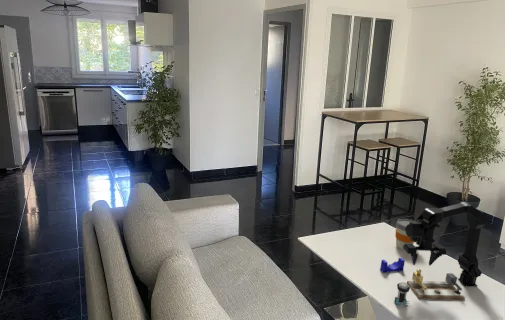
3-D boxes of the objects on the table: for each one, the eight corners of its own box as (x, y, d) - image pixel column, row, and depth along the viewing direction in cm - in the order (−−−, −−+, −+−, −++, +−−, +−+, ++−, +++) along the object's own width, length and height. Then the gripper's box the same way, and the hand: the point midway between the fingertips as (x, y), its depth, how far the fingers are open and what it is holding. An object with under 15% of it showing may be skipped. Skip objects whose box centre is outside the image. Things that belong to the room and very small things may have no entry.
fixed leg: (450, 282, 191) (452, 273, 189) (462, 294, 181) (464, 285, 179) (444, 282, 190) (446, 273, 189) (456, 294, 180) (458, 285, 179)
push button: (407, 301, 177) (410, 281, 174) (411, 308, 171) (415, 288, 169) (392, 300, 177) (395, 280, 174) (396, 307, 172) (399, 287, 169)
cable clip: (397, 266, 207) (399, 256, 205) (403, 270, 203) (404, 260, 201) (378, 268, 204) (380, 258, 202) (383, 273, 200) (385, 262, 198)
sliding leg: (417, 281, 189) (420, 267, 187) (427, 293, 179) (430, 279, 178) (411, 280, 189) (414, 267, 187) (421, 293, 179) (424, 279, 177)
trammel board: (449, 283, 193) (450, 278, 192) (464, 299, 180) (465, 294, 179) (406, 283, 191) (407, 278, 190) (419, 299, 179) (420, 293, 178)
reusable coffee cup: (388, 243, 233) (392, 220, 229) (403, 240, 238) (407, 217, 234) (404, 252, 222) (408, 229, 218) (419, 249, 227) (424, 226, 223)
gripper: (437, 228, 190) (431, 256, 194) (400, 227, 188) (395, 256, 192) (449, 238, 179) (443, 268, 183) (411, 237, 177) (405, 268, 182)
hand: (421, 264), depth 185 cm, fingers open, 8 cm apart
